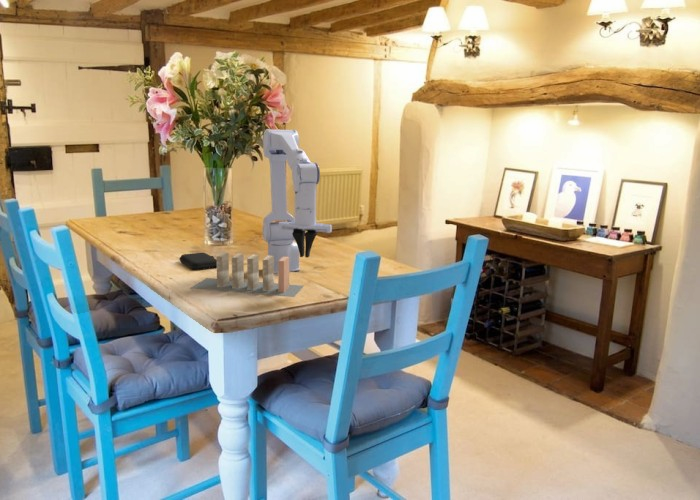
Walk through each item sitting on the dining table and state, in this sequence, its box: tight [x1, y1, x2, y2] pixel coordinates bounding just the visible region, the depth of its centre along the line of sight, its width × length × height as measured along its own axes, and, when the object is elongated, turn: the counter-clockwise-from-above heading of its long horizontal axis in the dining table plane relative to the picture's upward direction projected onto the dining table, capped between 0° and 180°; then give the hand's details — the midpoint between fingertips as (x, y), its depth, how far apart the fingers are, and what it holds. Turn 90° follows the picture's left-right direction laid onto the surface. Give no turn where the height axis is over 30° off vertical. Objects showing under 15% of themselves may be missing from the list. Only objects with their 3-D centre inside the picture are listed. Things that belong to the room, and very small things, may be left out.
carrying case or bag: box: [179, 252, 217, 271], centre depth 189 cm, size 11×3×15 cm
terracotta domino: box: [277, 257, 290, 293], centre depth 163 cm, size 2×5×9 cm, turn 170°
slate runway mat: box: [190, 277, 304, 298], centre depth 166 cm, size 30×11×1 cm, turn 80°
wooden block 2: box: [262, 255, 275, 291], centre depth 164 cm, size 2×5×9 cm, turn 170°
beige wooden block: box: [215, 251, 230, 288], centre depth 166 cm, size 2×5×9 cm, turn 170°
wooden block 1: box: [246, 253, 260, 290], centre depth 165 cm, size 2×5×9 cm, turn 170°
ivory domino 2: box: [231, 252, 245, 289], centre depth 165 cm, size 2×5×9 cm, turn 170°
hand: (304, 256), depth 161 cm, fingers closed
